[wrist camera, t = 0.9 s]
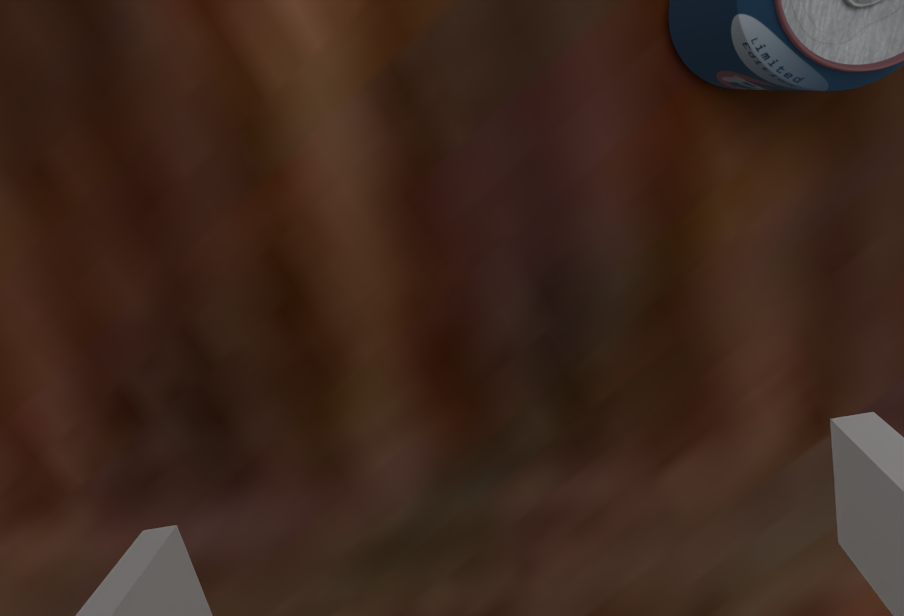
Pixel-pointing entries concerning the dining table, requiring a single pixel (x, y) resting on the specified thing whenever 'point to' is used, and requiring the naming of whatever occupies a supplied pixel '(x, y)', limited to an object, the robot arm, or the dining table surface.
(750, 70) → the soda can
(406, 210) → the dining table surface
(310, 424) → the dining table surface
